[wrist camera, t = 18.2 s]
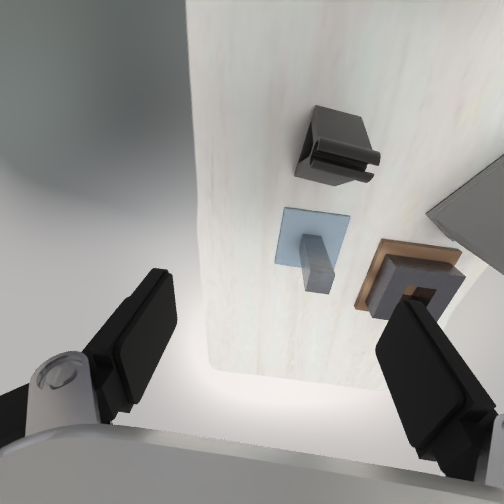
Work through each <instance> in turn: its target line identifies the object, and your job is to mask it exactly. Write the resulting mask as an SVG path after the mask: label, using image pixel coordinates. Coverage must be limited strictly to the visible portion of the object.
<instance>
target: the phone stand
mask: <svg viewBox="0 0 504 504" xmlns="http://www.w3.org/2000/svg"><path fill="white" fill-rule="evenodd" d="M379 163H380V153H379V152H377V151H373V150H372V147H371V144H370V141H369V138H368V135H367V132H366V129H365V126H364V124H363V121H362V118H361V117H359V116H355V115H351V114H347V113H343V112H340V111H336V110H332V109H328V108H324V107H320V106H315V109H314V112H313V116H312V119H311V122H310V125H309V129H308V132H307V135H306V139H305V142H304V145H303V149H302V152H301V155H300V159H299V162H298V165H297V168H296V172H295V176H296V177H300V178H304V179H308V180H312V181H316V182H320V183H324V184H328V185H332V186H337V185H340V184H343V183H346V182H350V181H353V180H357V181H361V182H365V183H367V182H369V181H370V180H371V179H372V178H373V176H374V174H373V173H369V172H365V170H366V168H367V164H372V165H376V166H379Z"/></svg>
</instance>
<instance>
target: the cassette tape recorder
mask: <svg viewBox="0 0 504 504" xmlns="http://www.w3.org/2000/svg"><path fill="white" fill-rule="evenodd" d="M426 215H427V216H428V217H429V218H430V219H431V220H432V221H433V222H434V223H435V224H436V225H437V226H438V227H439V229H440V230H441V231H442V232H443V233H444V234H445V235H446V236H447V237H448V238H449V239H450V240H452V241H456V242H458V243H459V244H461V245H462V246H463V247H465V248H466V249H468V250H469V251H470V252H472V253H473V254H475V255H476V256H478V257H479V258H480V259H482V260H483V261H485V262H486V263H487V264H489V265H490V266H492V267H493V268H495V269H496V270H498V271H499V272H500V273H502V274H503V275H504V155H503V156H502V157H501V158H499V159H498V160H497V161H495V162H494V163H493V164H492V165H490V166H489V167H488V168H486V169H485V170H484V171H482V172H481V173H480V174H478V175H477V176H476V177H474V178H473V179H472V180H470V181H469V182H468V183H466V184H465V185H464V186H462V187H461V188H460V189H459V190H457V191H456V192H455V193H453V194H452V195H451V196H449V197H448V198H447V199H445V200H444V201H443V202H441V203H440V204H439V205H437V206H436V207H435V208H433V209H432V210H431V211H429V212H428V213H427V214H426Z"/></svg>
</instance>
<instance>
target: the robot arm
mask: <svg viewBox="0 0 504 504" xmlns="http://www.w3.org/2000/svg"><path fill="white" fill-rule="evenodd" d="M176 325H177V312H176V303H175V294H174V285H173V276H172V274H170V273H169V272H168V270H166V269H157V268H153V269H152V270H151V271H150V272H149V273H148V275H147V276H146V277H145V278H144V280H143V281H142V282H141V283H140V285H139V286H138V287H137V288H136V290H135V291H134V292H133V293H132V295H131V296H129V297H127V298H126V299H125V300H124V301H123V302H122V303H121V304H120V305H119V307H118V308H117V309H116V310H115V312H114V313H113V314H112V315H111V316H110V318H109V319H108V320H107V321H106V323H105V324H104V325H103V326H102V327H101V329H100V330H99V331H98V332H97V334H96V335H95V336H94V337H93V339H92V340H91V341H90V342H89V343H88V345H87V346H86V347H85V349H83V351H82V352H78V351H68V352H64V353H60V354H58V355H56V356H54V357H51V358H50V359H49V360H47V361H45V362H44V363H43V364H42V365H40V366H39V367H38V368H37V369H36V371H35V372H34V374H33V375H32V377H31V380H30V383H28V384H26V385H23V386H21V387H19V388H17V389H14V390H12V391H10V392H8V393H5V394H3V395H1V396H0V504H504V414H500V415H498V414H497V412H496V411H495V410H494V408H495V407H496V405H495V403H494V402H493V400H492V399H491V398H490V396H489V395H488V394H487V392H486V391H485V389H484V388H483V387H482V385H481V384H480V382H479V381H478V380H477V378H476V377H475V375H474V374H473V373H472V371H471V370H470V368H469V367H468V366H467V364H466V363H465V361H464V360H463V359H462V357H461V356H460V355H459V353H458V352H457V350H456V349H455V347H454V346H453V345H452V343H451V342H450V341H449V339H448V338H447V336H446V335H445V334H444V332H443V331H442V329H441V328H440V326H439V325H438V324H437V322H436V321H435V319H434V318H433V317H432V315H431V314H430V313H429V311H428V310H427V308H426V307H425V306H424V304H423V303H422V302H420V301H413V300H403V301H402V302H401V303H398V304H397V305H396V307H395V309H394V311H393V313H392V315H391V317H390V319H389V321H388V323H387V325H386V327H385V329H384V331H383V333H382V335H381V337H380V339H379V341H378V343H377V345H376V349H375V352H376V356H377V359H378V361H379V364H380V367H381V369H382V372H383V375H384V377H385V380H386V383H387V385H388V388H389V390H390V393H391V395H392V398H393V401H394V404H395V406H396V409H397V412H398V414H399V417H400V419H401V422H402V425H403V427H404V430H405V433H406V435H407V438H408V441H409V443H410V444H411V446H412V447H415V449H416V452H417V454H418V457H419V459H423V460H429V461H437V463H438V465H439V467H440V469H441V471H440V474H439V475H433V474H428V473H422V472H417V471H411V470H405V469H399V468H393V467H387V466H380V465H375V464H369V463H363V462H357V461H351V460H345V459H338V458H332V457H326V456H320V455H314V454H307V453H301V452H295V451H288V450H282V449H276V448H270V447H264V446H257V445H251V444H245V443H238V442H232V441H226V440H219V439H213V438H206V437H200V436H193V435H187V434H180V433H174V432H167V431H160V430H152V429H145V428H138V427H130V426H121V425H113V423H112V420H113V419H115V417H116V415H117V413H118V411H119V412H125V413H130V411H131V409H132V407H133V405H134V404H138V403H139V402H140V400H141V398H142V396H143V394H144V391H145V389H146V387H147V385H148V383H149V381H150V379H151V377H152V375H153V373H154V371H155V369H156V367H157V365H158V363H159V360H160V358H161V356H162V354H163V352H164V350H165V348H166V346H167V344H168V342H169V340H170V338H171V336H172V334H173V332H174V330H175V327H176Z"/></svg>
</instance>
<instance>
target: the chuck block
mask: <svg viewBox="0 0 504 504" xmlns="http://www.w3.org/2000/svg"><path fill="white" fill-rule="evenodd" d="M465 278H466V276H465V275H463V274H462V273H461V272H460V271H459V270H458V269H456V268H455V267H454V266H453V265H452V264H451V263H449V262H442V261H435V260H428V259H421V258H413V257H406V256H399V255H392V254H385V256H384V259H383V261H382V263H381V266H380V268H379V270H378V273H377V275H376V277H375V280H374V282H373V284H372V287H371V289H370V291H369V293H368V296H367V298H366V300H365V303H366V305H367V308H368V310H369V312H370V314H371V316H372V318H377V319H384V320H389V319H390V317H391V315H392V313H393V311H394V309H395V307H396V305H397V304H398V303H401V302H402V301H403V300H413V301H420V302H422V303H423V304H424V306H425V307H426V308H427V310H428V311H429V313H430V314H431V315H432V317H433V318H434V319H435V321H436V322H437V321H438V319H439V318H440V316H441V315H442V313H443V312H444V310H445V309H446V307H447V306H448V304H449V303H450V301H451V300H452V298H453V296H454V295H455V293H456V292H457V290H458V289H459V287H460V286H461V284H462V283H463V281H464V280H465ZM408 285H409V286H416V289H415V291H414V293H413V295H405V294H403V293H404V291H405V289H406V287H407V286H408Z"/></svg>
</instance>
